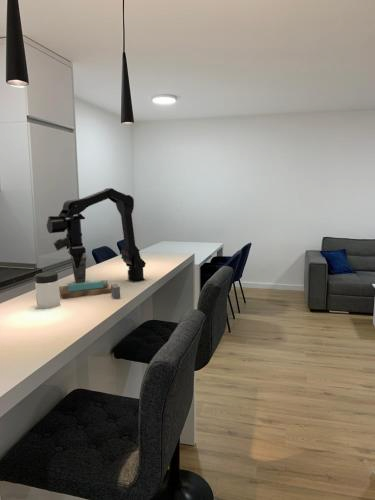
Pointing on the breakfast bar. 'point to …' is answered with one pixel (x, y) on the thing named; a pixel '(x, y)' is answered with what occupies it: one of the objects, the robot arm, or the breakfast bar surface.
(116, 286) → the post
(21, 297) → the breakfast bar surface
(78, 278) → the beverage cup
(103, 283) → the leg
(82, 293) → the board
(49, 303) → the jar
